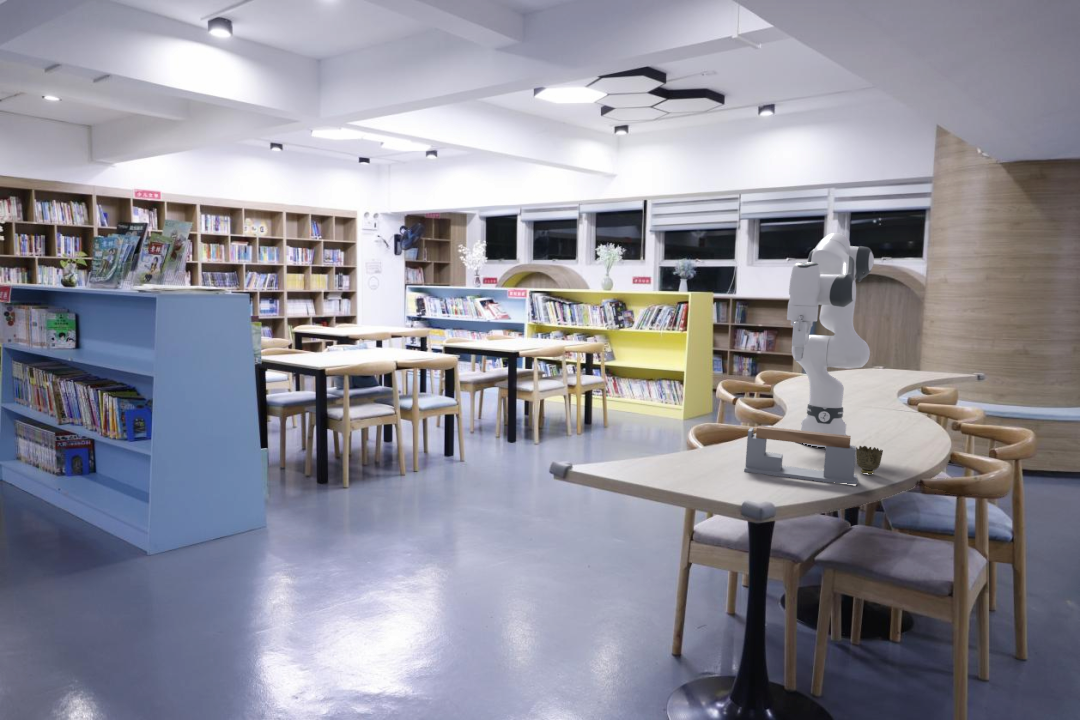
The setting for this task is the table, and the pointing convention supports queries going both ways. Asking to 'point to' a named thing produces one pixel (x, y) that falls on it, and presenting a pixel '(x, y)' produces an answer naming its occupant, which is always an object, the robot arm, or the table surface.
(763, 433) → the walnut bar
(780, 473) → the notched stand
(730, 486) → the table surface
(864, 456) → the cup
